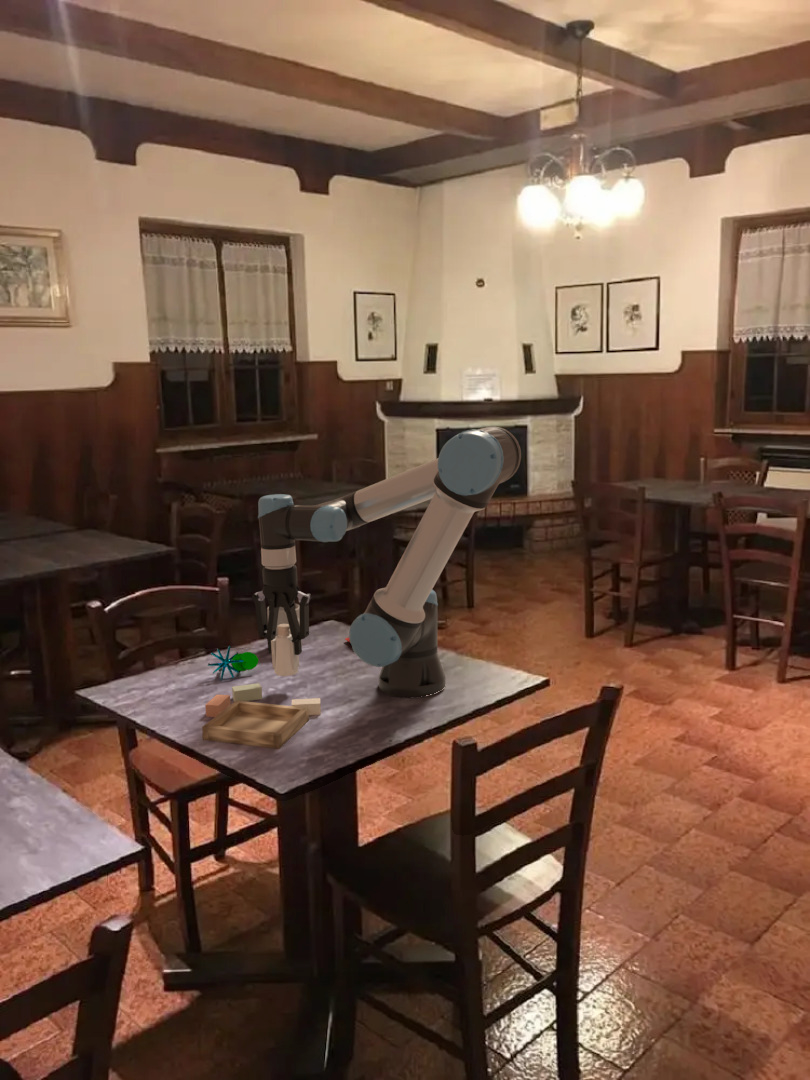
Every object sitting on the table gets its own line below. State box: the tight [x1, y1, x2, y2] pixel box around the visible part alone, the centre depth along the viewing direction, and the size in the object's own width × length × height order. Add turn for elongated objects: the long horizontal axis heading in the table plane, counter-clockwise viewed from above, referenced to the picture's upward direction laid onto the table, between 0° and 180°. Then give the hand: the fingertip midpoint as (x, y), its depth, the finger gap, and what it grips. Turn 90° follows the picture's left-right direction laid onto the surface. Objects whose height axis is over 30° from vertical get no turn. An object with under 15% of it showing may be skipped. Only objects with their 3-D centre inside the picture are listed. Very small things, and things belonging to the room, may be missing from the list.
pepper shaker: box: [274, 624, 299, 677], centre depth 201 cm, size 5×5×11 cm
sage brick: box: [231, 682, 263, 703], centre depth 199 cm, size 6×3×3 cm, turn 110°
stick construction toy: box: [207, 645, 259, 681], centre depth 215 cm, size 12×7×8 cm
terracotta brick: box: [204, 694, 232, 718], centre depth 192 cm, size 6×3×3 cm, turn 168°
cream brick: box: [291, 697, 322, 716], centre depth 190 cm, size 6×3×3 cm, turn 96°
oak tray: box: [201, 701, 310, 750], centre depth 182 cm, size 16×14×3 cm
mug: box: [266, 603, 303, 646], centre depth 232 cm, size 12×8×11 cm
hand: (286, 667), depth 202 cm, fingers closed on pepper shaker, 4 cm apart
